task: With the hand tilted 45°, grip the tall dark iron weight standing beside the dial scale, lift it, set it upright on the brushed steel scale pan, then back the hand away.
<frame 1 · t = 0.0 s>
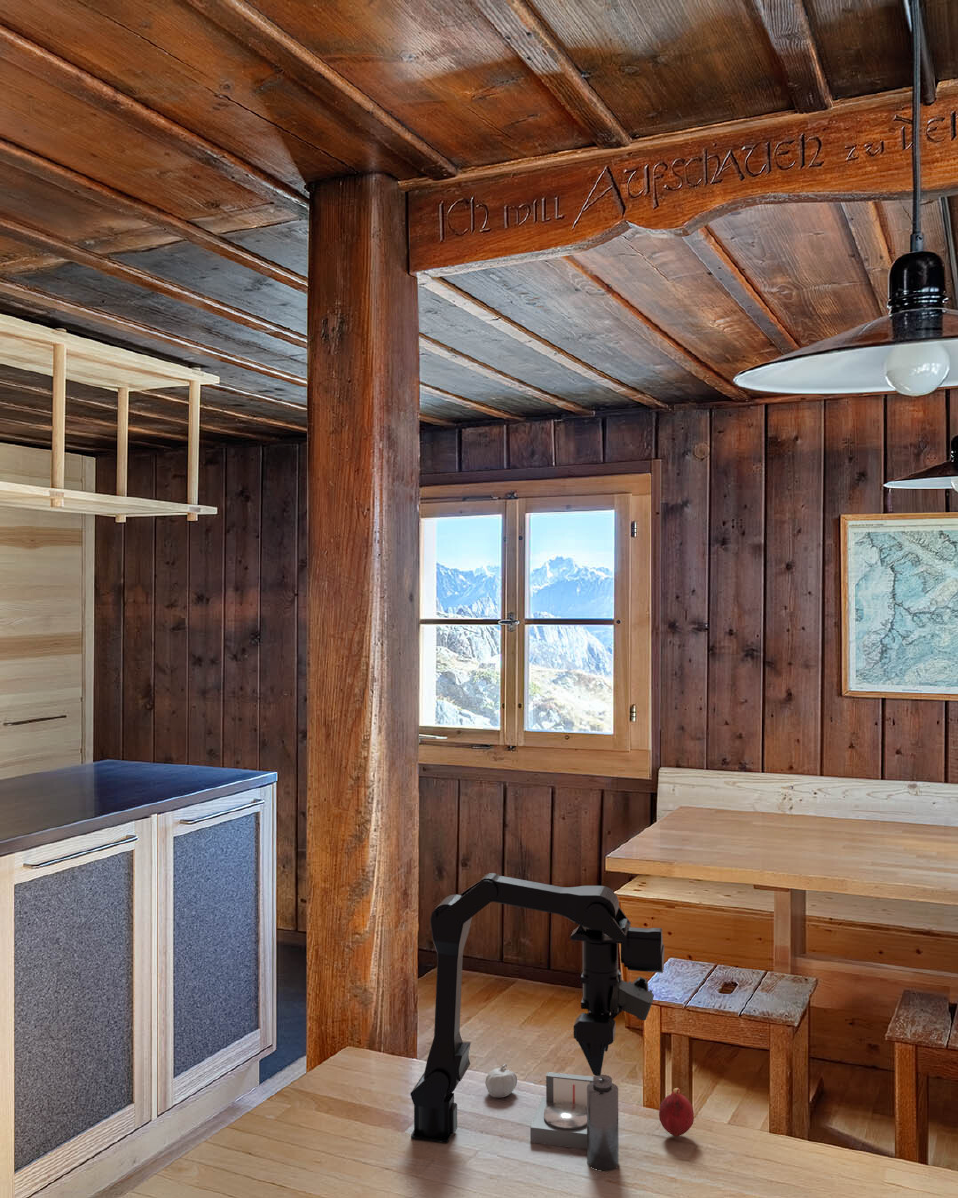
hand: (600, 1062, 172), 15 cm above the table, tool pointing down, fingers open, 9 cm apart
scale: (568, 1130, 180), on the table
scale pan: (567, 1116, 179), point 3 cm above the table, slide at 0.2 cm
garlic: (500, 1095, 193), on the table
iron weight: (602, 1163, 169), on the table
onion: (676, 1138, 177), on the table
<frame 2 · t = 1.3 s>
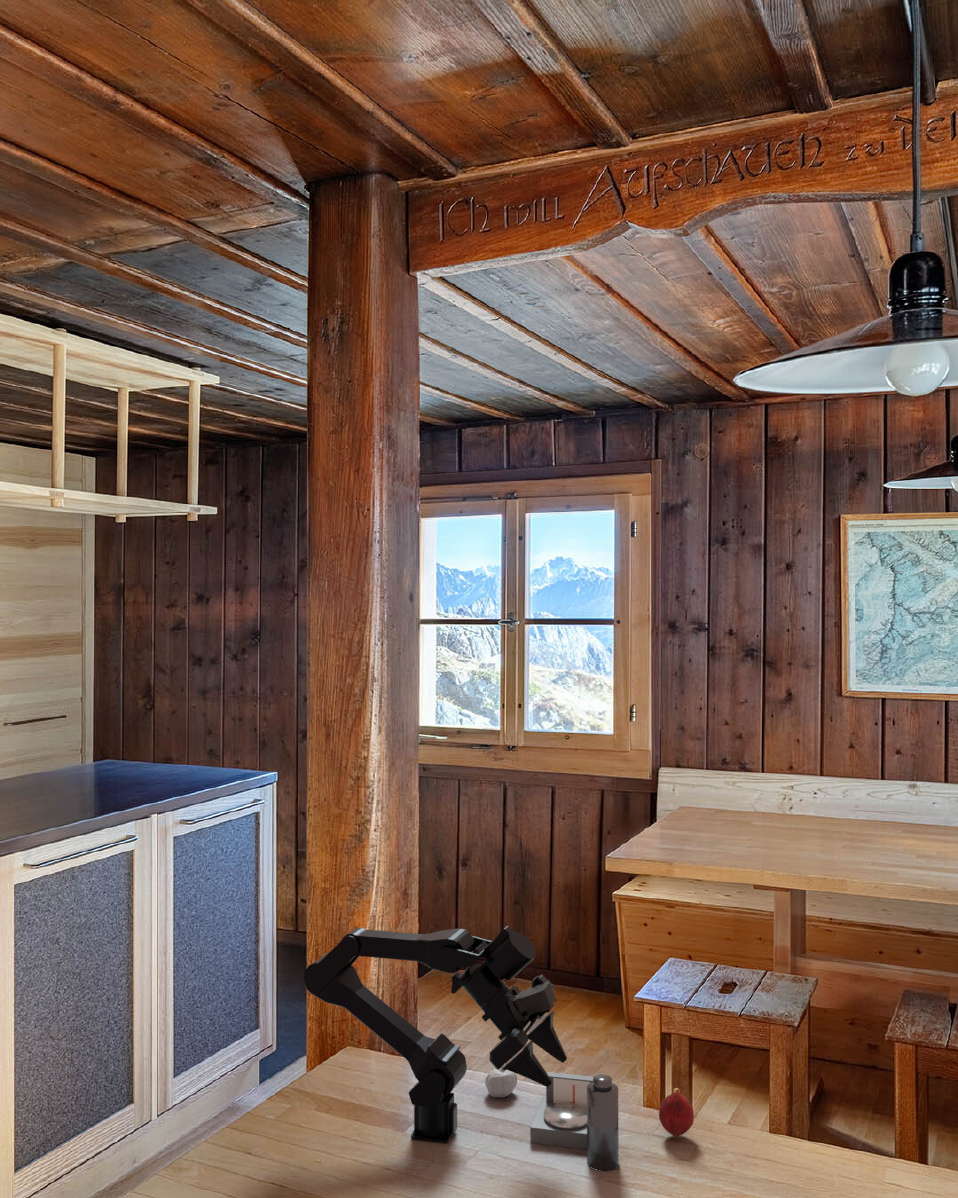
hand: (557, 1072, 172), 13 cm above the table, tool tilted 45°, fingers open, 9 cm apart
nothing on the table moved.
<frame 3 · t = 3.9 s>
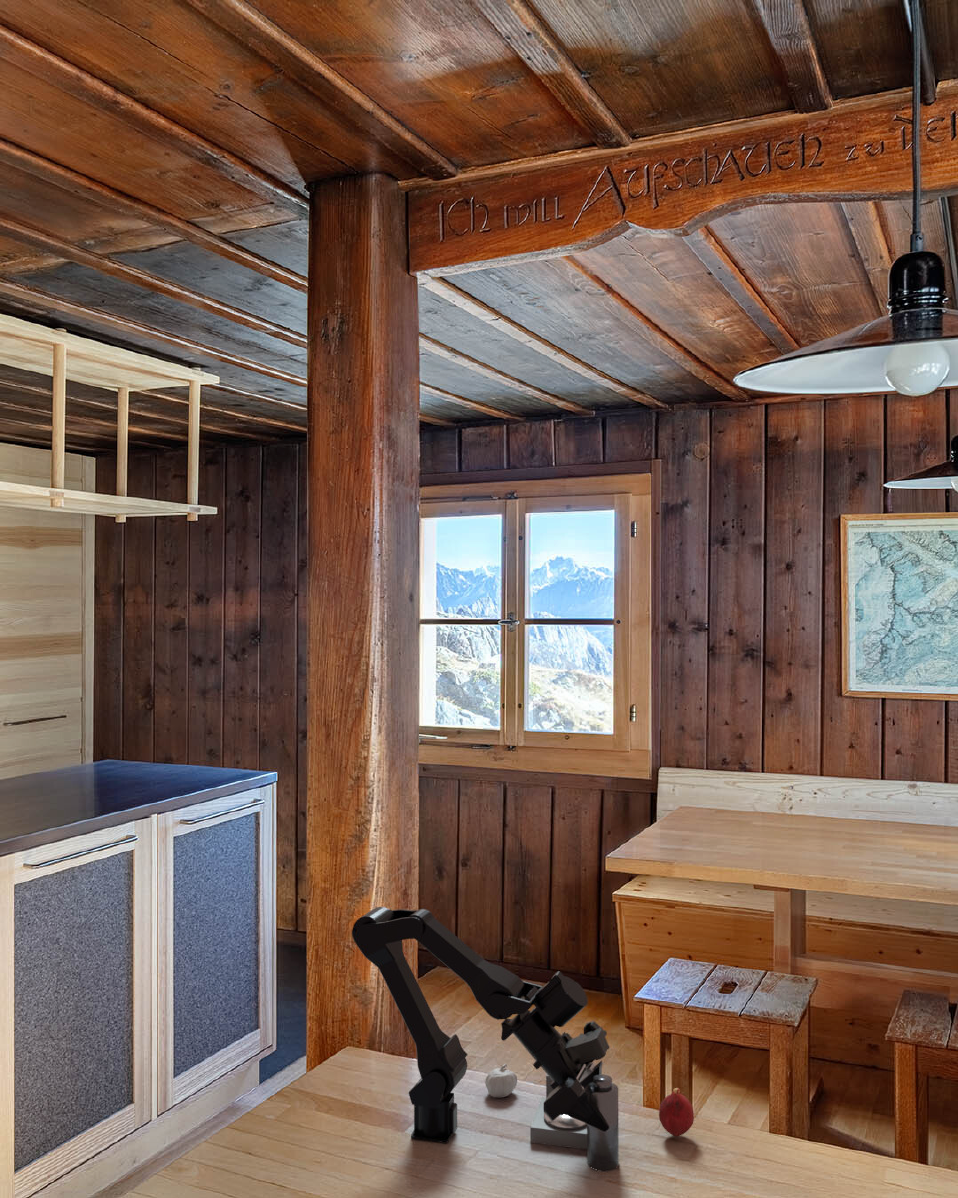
hand: (611, 1122, 169), 7 cm above the table, tool tilted 45°, fingers closed on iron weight, 5 cm apart
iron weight: (602, 1163, 169), on the table, touching gripper
everything else where it was.
when the fingers open (11 cm above the table, at t = 7.5 s): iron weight drops 1 cm, resting on scale pan.
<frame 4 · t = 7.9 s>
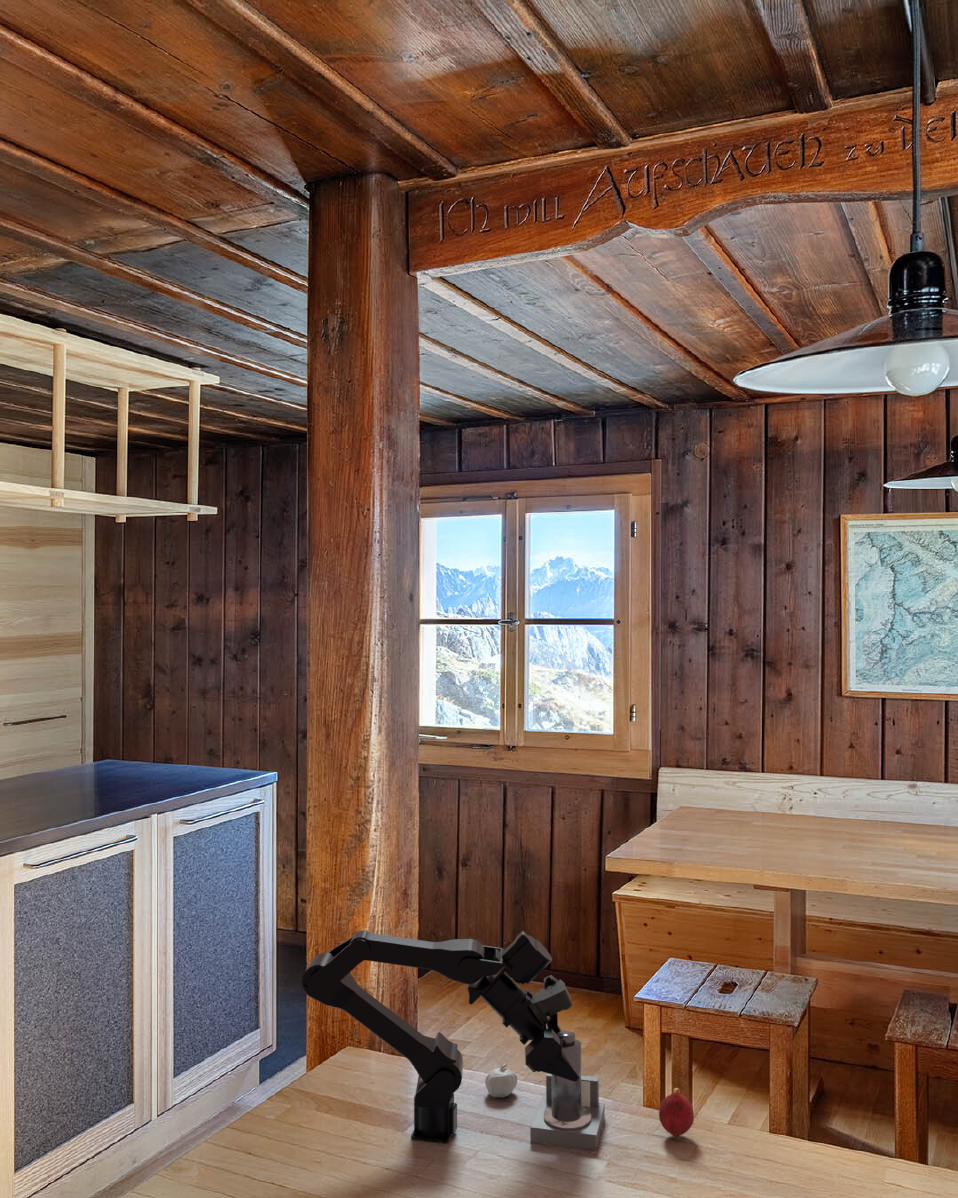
hand: (575, 1067, 178), 11 cm above the table, tool tilted 45°, fingers open, 9 cm apart
scale pan: (567, 1116, 179), point 3 cm above the table, slide at 0.3 cm, touching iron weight, scale
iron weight: (566, 1114, 179), point 3 cm above the table, touching scale pan
everything else where it was.
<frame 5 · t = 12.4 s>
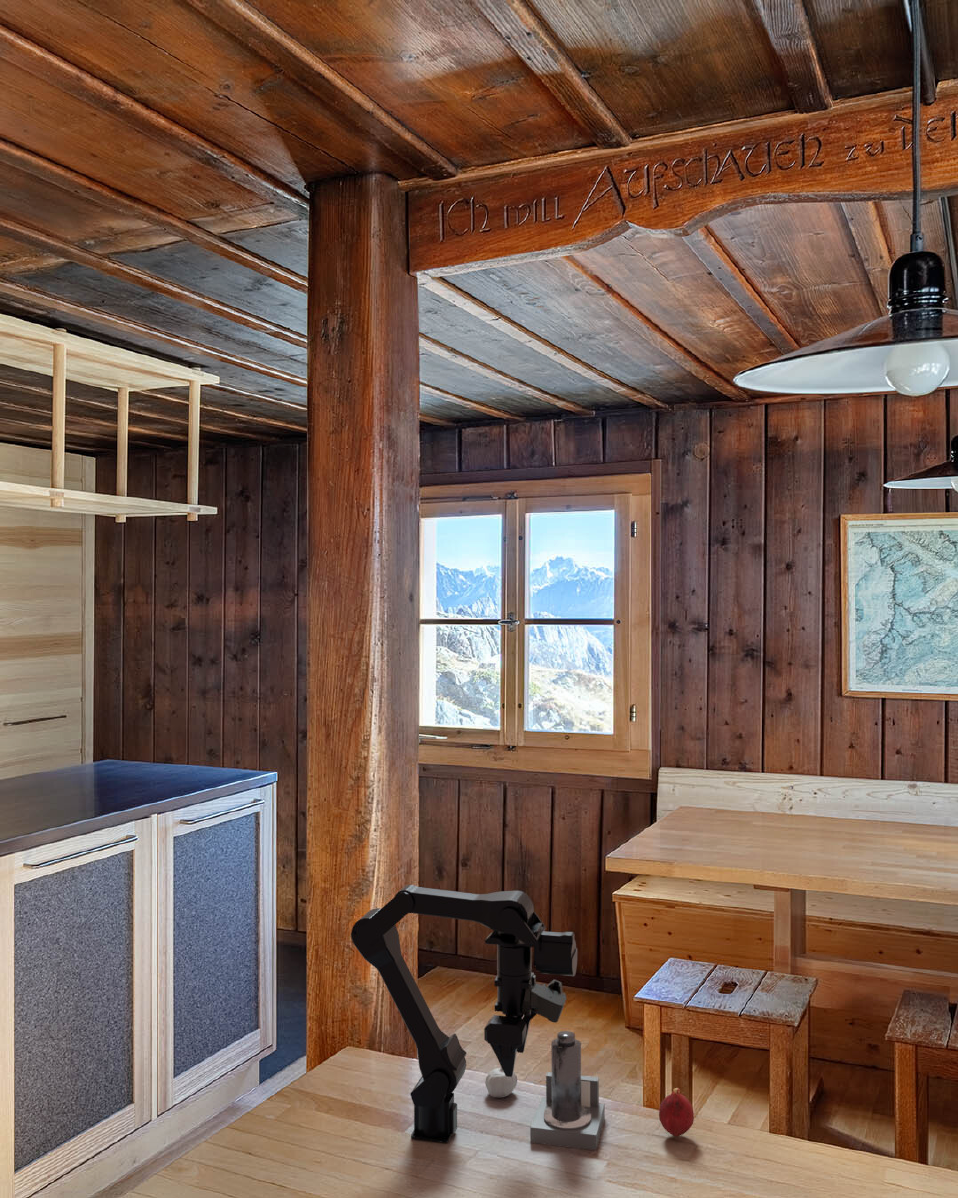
hand: (514, 1064, 176), 13 cm above the table, tool pointing down, fingers open, 9 cm apart
scale pan: (567, 1116, 179), point 3 cm above the table, slide at 0.3 cm, touching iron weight
everything else where it was.
at the end: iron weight 0.1 cm from the target spot on the scale, point 3.1 cm above the scale's base; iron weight tilted 0°; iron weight touching scale pan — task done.
